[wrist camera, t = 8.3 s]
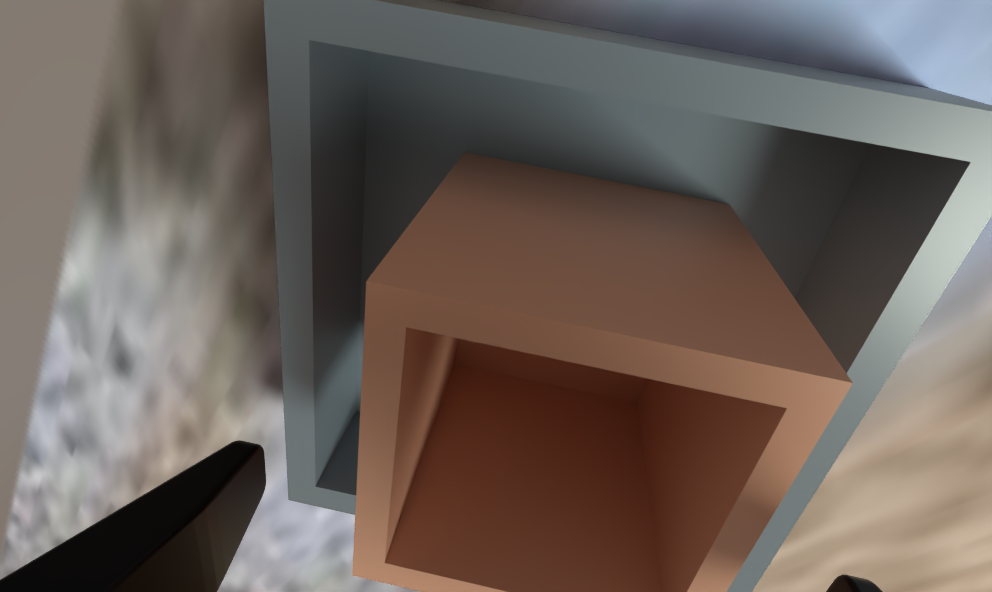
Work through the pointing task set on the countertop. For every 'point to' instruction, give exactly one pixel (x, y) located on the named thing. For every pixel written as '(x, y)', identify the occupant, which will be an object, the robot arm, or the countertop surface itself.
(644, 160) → the large crate
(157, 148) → the countertop surface
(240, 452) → the robot arm
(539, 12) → the countertop surface
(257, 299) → the countertop surface
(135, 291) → the countertop surface
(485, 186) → the small crate
